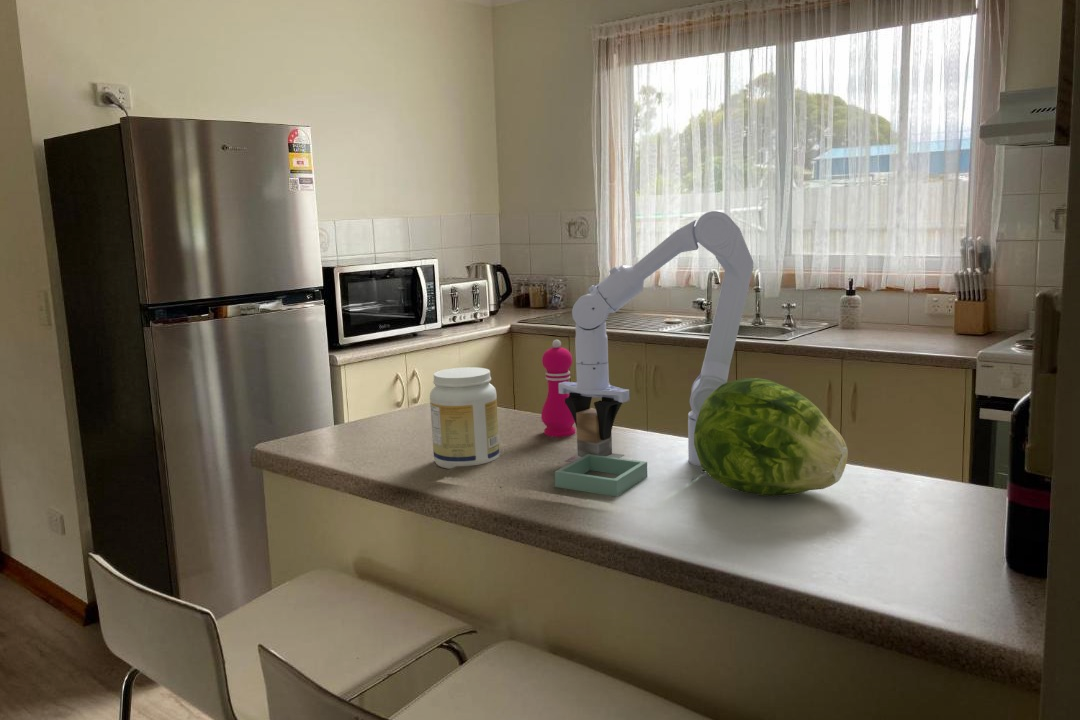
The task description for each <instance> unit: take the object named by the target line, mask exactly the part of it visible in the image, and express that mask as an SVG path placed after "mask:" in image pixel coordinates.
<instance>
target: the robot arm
mask: <svg viewBox="0 0 1080 720" xmlns="http://www.w3.org/2000/svg"><path fill="white" fill-rule="evenodd" d="M699 244H700V245H701V246H702V247H704V248H705V249H706V250H707V251H708V252H709V253H711V254H712V255H713V256H715V258H716V260H717V262H718V263H719V264H720V266H721V267H722V268H723V270H724V273H723V277H722V281H721V285H720V291H719V295H718V298H717V303H716V308H715V311H714V316H713V320H712V324H711V329H710V332H709V337H708V342H707V345H706V350H705V354H704V359H703V362H702V366H701V371H700V374H699V375H698V376H697V377H696V379H695V380H693V383H692V385H691V389H690V390H691V393H690V397H689V405H690V409H691V410H690V411H689V412H687V413H688V414H687V433H688V434H687V435H688V436H687V438H688V439H687V441H688V442H687V443H688V447H687V448H688V449H687V450H688V452H687V453H688V454H687V455H688V456H687V457H688V462H689V463H690V464H691V465H695V466H699V467H702V466H701V464H700V461H699V458H698V455H697V452H696V449H695V446H694V432H695V426H696V421H697V418H698V415H699V412H700V410H701V408H702V406H703V404H704V402H705V400H706V399H707V398H708V396H709V395H710V394H711V393H712V392H713V391H715V390H716V389H717V388H718V387H720V386H721V385H722V384H725V383H727V382H728V380H729V379H728V378H729V374H730V373H729V372H730V366H731V362H732V359H733V355H734V350H735V346H736V342H737V338H738V333H739V328H740V326H741V325H740V324H741V322H742V321H741V320H742V316H743V313H744V309H745V304H746V300H747V295H748V292H749V287H750V283H751V278H752V276H753V271H754V265H755V264H754V259H753V258H752V254H751V252H750V250H749V247H748V245H747V243H746V241H745V238H744V236H743V233H742V231H741V228H740V227H739V226H738V225H737V224H736V222H735V221H734V220H733V219H732V218H731V217H730V216H729V215H728V214H727V213H726V212H724V211H722V210H711V211H708V212H706V213H703V214H702V215H701V216H700V217H699V218H698V219H695V220H692V221H691V222H689V223H687V224H685V225H684V226H682V227H680V228H679V229H676V230H674V232H673V233H671V234H670V235H669V236H668V237H666V238H665V239H664V240H663V241H662V242H660V243H659V244H658V245H656V247H654V248H653V249H652V250H651V251H650V252H648V254H646V255H645V256H644V257H643V258H642V259H640V260H639V261H638V262H636V263H635V264H634V265H629V264H628V265H626V264H621V265H620V266H619V267H618V266H613V267H612V268H611V269H610V270H608V271H609V275H607V276H606V277H605V278H603V279H602V281H600V282H599V283H597V284H596V285H594V284H593V285H591V286H590V287H589V288H588V289H587V290H588V292H590V293H587V294H584V295H582V296H579V297H578V299H577V300H576V302H575V303H574V305H573V307H572V309H571V314H572V320H573V321H574V322H575V327H574V328H575V337H574V342H575V343H574V345H575V368H576V371H575V372H576V381H575V382H573V381H568V382H562V383H558V385H559V394H565V393H566V394H569V397H568V398H565V403H566V405H567V406H568V408H569V410H570V412H571V414H572V416H573V418H574V421H575V423H574V424H575V426H576V428H577V420H576V413H577V412H580V411H583V410H586V409H590V408H591V402H592V398H593V399H594V398H596V399H600V400H598V401H597V400H596V401H594V402H593V405H594V408H595V409H596V412H597V415H598V421H599V434H600V439H601V440H606V439H608V438H610V436H611V433H612V431H613V426H614V422H615V419H616V417H617V414H618V412H619V410H620V408H621V407H622V405H623V403H626V402H630V389H627V388H626V389H625V388H621V387H617V386H614V385H611V383H610V380H609V379H610V374H609V370H610V369H609V340H608V334H607V321H606V320H607V319H608V317H609V316H610V315H609V314H616V312H618V311H619V310H620V309H621V308H623V307H624V306H625V305H626V304H628V303H629V302H631V301H632V300H633V299H635V297H637V296H638V295H639V294H640V293H642V292H643V291H644V283H645V280H646V279H647V278H649V277H650V276H651V275H653V274H654V273H655V272H657V271H658V270H660V269H661V268H662V267H663V266H665V265H666V264H668V263H669V262H670V261H671V260H673V259H674V258H675V257H677V256H678V255H679V254H682V253H685V252H691V251H697V250H698V249H699V247H700V246H699ZM701 472H706V471H705V470H704V469H702V470H701ZM706 473H707V472H706Z"/></svg>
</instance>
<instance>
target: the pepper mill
mask: <svg viewBox="0 0 1080 720" xmlns="http://www.w3.org/2000/svg"><path fill="white" fill-rule="evenodd" d="M551 344H552V347H551V348H548V349H547V350H545V351H544V353H543V355H542V358H541V359H542V360H541V361H542V363H541V364H542V366H543V367H544V369H545V370H546V371H545V373H544V374H545V377H544V378H545V380H547V386H548V388H547V389H548V390H547V395H546V399H545V402H544V404H543V407H542V411H541V418H540V419H541V422H542V423H543V425H545V426H546V428H544V431H543V433H544V435H546V436H548V437H553V438H554V437H555V438H560V437H561V438H562V437H569V436H572V435H575V434H576V428H575V427H574V424H575V421H574V418H573V416H572V414H571V412H570V410H569V408H568V406H567V405H566V403H565V398H568V397H569V394H566V393H565V394H559V385H558V383H562V382H569V379H571V371H570V370H569V369H570V368H571V366H572V364H573V356H572V354H571V352H570V350H568V349H567V348H565V347H561V346H562V342H561V340H559V339H554V340H553V341H552V343H551Z"/></svg>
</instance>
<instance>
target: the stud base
mask: <svg viewBox="0 0 1080 720" xmlns="http://www.w3.org/2000/svg"><path fill="white" fill-rule="evenodd" d="M624 456H625V454H622V453H621V454H620V453H613V452H612V454H611V455H609V456H606V457H614V458H622V457H624ZM580 458H581V457H580V456H578V453H576V454H575V455H573V456H572V457H569V458H568V459H566V460H565V462H566V463H572V462H574V461H576V460H578V459H580Z"/></svg>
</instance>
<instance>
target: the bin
mask: <svg viewBox="0 0 1080 720" xmlns="http://www.w3.org/2000/svg"><path fill="white" fill-rule="evenodd" d="M589 471H595V472H601V473H609V474H615V475H618V476H617V477H615V478H610V477H604V476H598V475H591V474H586V473H588V472H589ZM646 478H648V461H644V460H634V459H628V458H622V457H620V458H614V457H606V456H599V455H591V454H587V455H585V456H583V457H581V458H580V459H578V460H576V461H574V462H569V463H568V464H566V465H565V466H563V467H561V468H559V469H557V470H555V471H554V487H555V488H560V489H561V488H562V489H567V490H574V491H578V492H585V493H592V494H599V495H603V496H611V497H619V496H620V495H622V494H623V493H625V492H627V490H629V489H630V488H632V487H634V486H635V485H637V484H638V483H640V482H641V481H643V480H645V479H646Z"/></svg>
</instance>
